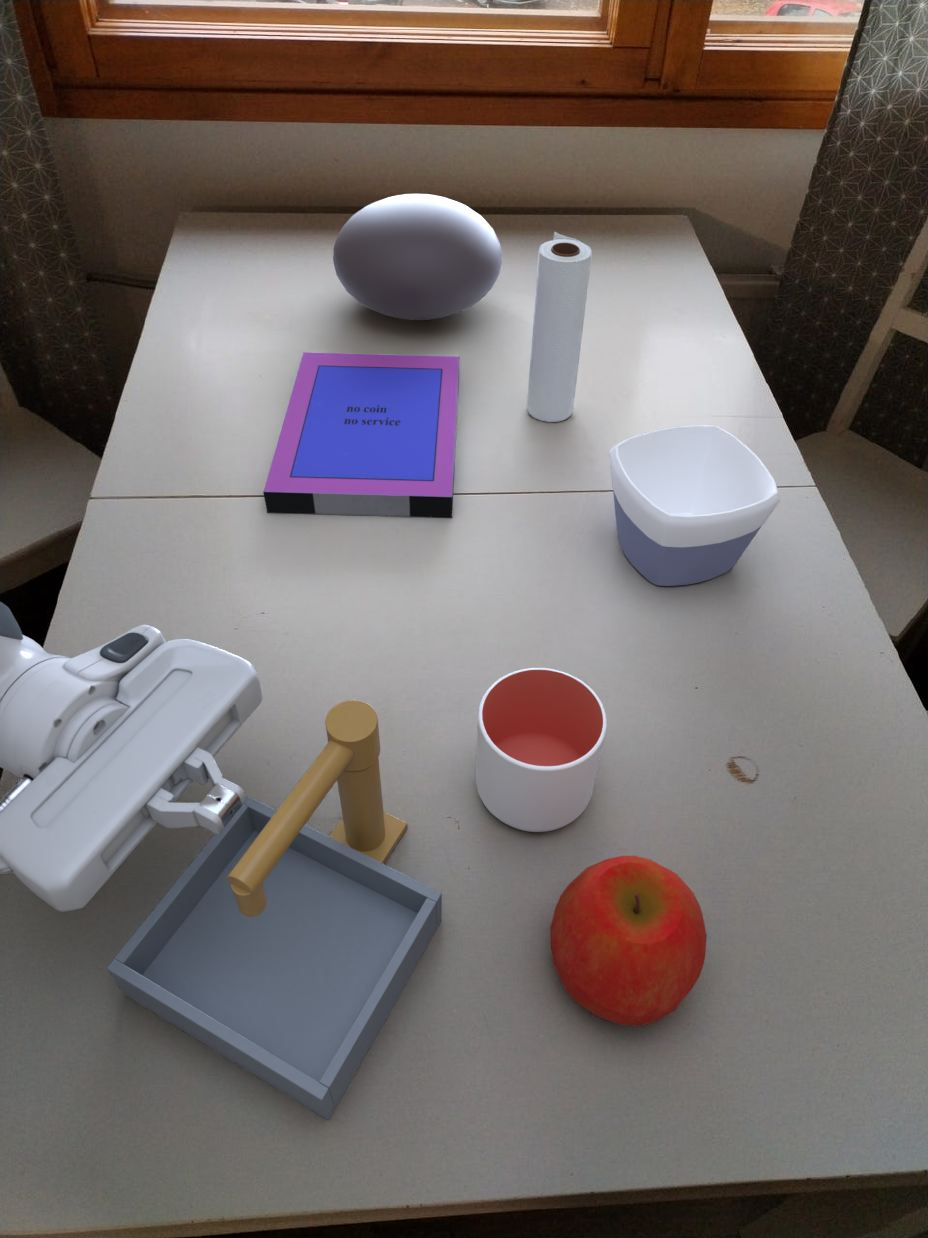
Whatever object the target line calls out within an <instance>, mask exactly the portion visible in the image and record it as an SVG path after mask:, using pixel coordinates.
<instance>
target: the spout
mask: <svg viewBox="0 0 928 1238" xmlns="http://www.w3.org/2000/svg"><path fill="white" fill-rule="evenodd" d="M378 718H379V717H378V714H377V711H376V710H375V709H374V707H373V706H372V705H370V704H369V703H367V702H365V701H363V700H358V699H350V700H349V699H348V700H345V701H341V702H338V703H337V704H335V705H334V706H333V707H332V708H331V709H330V710H329V711H328V712H327V715H326V717H325V721H324V726H325V732H326V737H327V743H326V745H325V746H324V747H323V748H322V750H321V751H320V753H319V754H318V755H317V757H316V758H315V759H314V761H313V762H312V763H311V765H310V766H309V767H308V769H306V771H305V772H304V774H303V775H302V776H301V778H300V779H299V780H298V781H297V783H296V785H295V786H294V787H293V789H292V790H291V791H290V793H289V794H288V795H287V797H286V798H285V799H284V801H283V802H282V803H281V804H280V806H279V807H278V809H276V810H277V811H276V813H275V814H274V815H273V816H272V818H271V819H270V820H269V822H268V823H267V824H266V826H265V827H264V828H263V830H262V831H261V832H260V834H259V835H258V836H257V838H256V839H255V840H254V842H253V843H252V844H251V846H250V847H249V848H248V850H247V851H246V852H245V854H244V855H243V856H242V858H241V859H240V860H239V862H238V863H237V864H236V866H235V867H234V868H233V870H232V871H231V872H230V874H229V875H228V876H227V881H228V882H229V884H230V885H231V888H232V891H233V894H234V897H235V899H236V902H237V905H238V907H239V910H240V912H241V913H242V914H243V915H245V916H247V917H254V916H257V915H259V914H261V913H262V912H263V911H264V910H265V908H266V906H267V897H266V894H265V891H264V888H263V885H262V884H263V882H264V881H265V880H266V878H267V877H268V875H269V874H270V873H271V871H272V870H273V868H274V867H275V866H276V864H277V863H278V861H279V860H280V859H281V857H282V856H283V854H284V853H285V852H286V850H287V849H288V848H289V846H290V845H291V843H292V842H293V841H294V839H295V838H296V836H297V835H298V834H299V832H300V831H301V829H302V828H303V827H304V825H307V823H308V821H309V820H310V819H311V817H312V816H313V814H314V813H315V812H316V810H317V808H318V807H319V806H320V804H321V803H322V802H323V800H324V799H325V798H326V796H327V795H328V793H329V792H330V791H331V789H332V788H333V787H334V785H335V783H337V779H338V778H339V777H340V775H341V774H342V772H343V771H344V770H347V771H360V770H364V769H366V768H368V767H370V766H371V765H373V764H374V763H375V761H376V760H377V759H378V758H379V757H380V754H381V741H380V727H379V719H378Z"/></svg>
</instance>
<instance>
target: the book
mask: <svg viewBox="0 0 928 1238" xmlns="http://www.w3.org/2000/svg"><path fill="white" fill-rule="evenodd" d="M460 359H461V357H460V356H459V355H427V354H425V355H424V354H423V355H422V354H390V353H389V354H388V353H387V354H386V353H385V354H384V353H350V352H349V353H348V352H347V353H346V352H313V351H312V352H310V351H303V352H302V355H301V359H300V362H299V366H298V369H297V371H296V376H295V379H294V383H293V386H292V389H291V393H290V397H289V400H288V404H287V408H286V411H285V415H284V418H283V422H282V425H281V429H280V432H279V435H278V439H277V443H276V446H275V450H274V452H273V453H274V454H273V457H272V460H271V463H270V467H269V470H268V473H267V478H266V481H265V484H264V487H263V491H262V493H263V498H264V503H265V509H266V513H267V514H291V515H295V514H297V515H325V516H326V515H328V516H329V515H331V516H360V517H361V516H368V517H400V518H434V519H435V518H437V519H438V518H441V519H453V508H454V507H453V506H454V488H455V487H454V486H455V470H456V469H455V468H456V450H457V449H456V448H457V430H458V428H457V427H458V409H459V393H460V392H459V390H460Z"/></svg>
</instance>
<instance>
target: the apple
mask: <svg viewBox="0 0 928 1238" xmlns="http://www.w3.org/2000/svg"><path fill="white" fill-rule="evenodd" d="M705 925H706V924H705V919H704V915H703V911H702V908H701V905H700V903H699V901H698V899H697V897H696V894H695V892H693V890H692V889H691V888H690V887H689V885H688V884H686V882H685V881H684V880H683V879H682V878H681V877H680V875H679V874H678V873H676V872H675V871H673V870H671V869H669V868H667V867H665V866H664V865H662V864H660V863H658V862H656V861H654V860H653V859H649V858H647V857H642V856H639V855H638V856H637V855H619V856H616V857H615V856H614V857H610V858H606V859H604V860H601V861H599V862H596V863H594V864H592V865H589V866H586V868H585V869H584V870H582V871H581V872H580V873H579V874H578V875H577V876H576V877H575V878H574V879H573V880H572V881H570V883H569V884H568V885H567V886H566V888H565V889H564V890H563V892H562V893H561V894H560V896H559V899H558V900H557V903H556V906H555V908H554V912H553V916H552V919H551V923H550V927H549V931H550V932H549V933H550V934H549V937H550V939H549V942H550V944H549V945H550V953H551V957H552V962H553V966H554V968H555V971H556V973H557V975H558V977H559V979H560V981H561V983H562V986H563V988H564V990H565V992H566V993H567V994H568V995H569V997H570V998H571V999H572V1000H573V1001H574V1002H575V1003H576V1004H577V1005H578V1006H580V1007H582V1008H583V1009H585V1010H587V1011H588V1012H589V1013H591V1014H593V1015H595V1016H596V1017H598V1018H601V1019H604V1020H607V1021H609V1022H612V1023H615V1024H618V1025H620V1026H632V1027H640V1026H644V1025H648V1024H652V1023H655V1022H656V1023H657V1022H659V1021H661V1020H662V1019H664V1018H665V1017H667V1016H668V1015H670V1014H671V1013H673V1012H674V1011H676V1010H677V1008H678V1007H679V1006H680V1004H681V1003H682V1002H683V1000H684V999H685V998H686V997H687V996H688V995H689V993H690V992H691V991H692V989H694V987H695V986H696V983H697V982H698V980H699V978H700V976H701V973H702V971H703V967H704V965H705V959H706V952H707V937H708V936H707V930H706V926H705Z"/></svg>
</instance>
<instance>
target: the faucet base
mask: <svg viewBox="0 0 928 1238" xmlns="http://www.w3.org/2000/svg"><path fill="white" fill-rule="evenodd" d="M381 780H382V779H381V769H380V759H379V757H378V759H377V760H376V761H375V763H374V764H373V765H371V766H370V767H368V768H366V769H364V770H360V771H347V770H344V771H343V772H342V774H341V775H340V777H339V778H338V779H337V781H336V783H337V790H338V795H339V802H340V808H341V815H342V817H341V819H340V820H339V822H337V825H336V826H335V827H334V829H333V830H332V832H331V833H330V835H329V837H331V838H333V839H334V840H336V841H338V842H340V843H342V844H344V845H346V846H348V847H350V848H352V849H354V850H356V851H358V852H360V853H362V854H364V855H366V856H368V857H370V858H372V859H374V860H376V861H378V862H380V863H382V864H384V865H386V863H387V861H388V859H389V858H390V856H391V855H392V854H393V852H394V850H395V848H396V847H397V845H398V844H399V843H400V841H401V839H402V838H403V836H404V834H405V832H406V831H407V830H408V823H407V822H406V821H404V820H403V819H400V818H398V817H396V816H395V815H392V814H389V813H387V812H385V811H384V803H383V802H384V801H383V794H382V793H383V792H382V781H381Z"/></svg>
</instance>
